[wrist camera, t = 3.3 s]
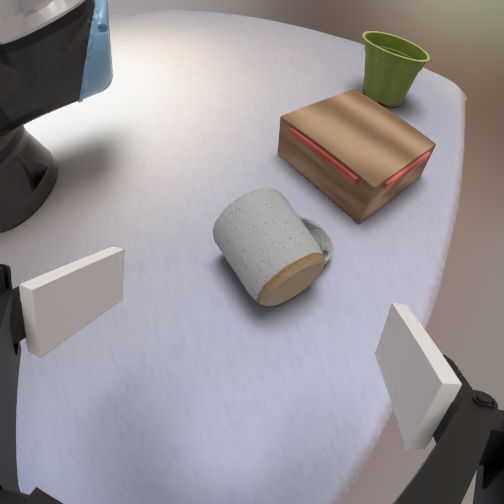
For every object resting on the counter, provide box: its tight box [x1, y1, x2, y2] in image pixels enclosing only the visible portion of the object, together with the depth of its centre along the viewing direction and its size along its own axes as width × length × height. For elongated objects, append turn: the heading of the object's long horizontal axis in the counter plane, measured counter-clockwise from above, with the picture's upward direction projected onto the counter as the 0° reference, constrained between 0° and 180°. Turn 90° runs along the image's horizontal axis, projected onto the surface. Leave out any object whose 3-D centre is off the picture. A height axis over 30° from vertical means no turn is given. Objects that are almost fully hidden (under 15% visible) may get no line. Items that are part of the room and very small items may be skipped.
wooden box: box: [278, 89, 436, 224], centre depth 37 cm, size 14×14×6 cm
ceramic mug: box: [213, 189, 334, 306], centre depth 29 cm, size 11×8×8 cm
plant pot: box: [362, 31, 430, 107], centre depth 45 cm, size 12×12×11 cm
